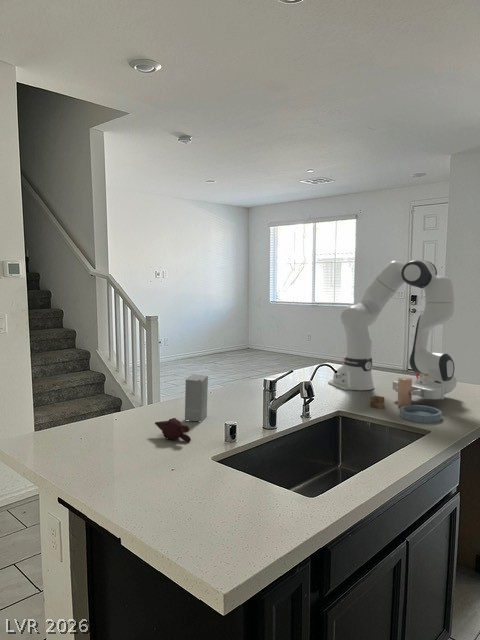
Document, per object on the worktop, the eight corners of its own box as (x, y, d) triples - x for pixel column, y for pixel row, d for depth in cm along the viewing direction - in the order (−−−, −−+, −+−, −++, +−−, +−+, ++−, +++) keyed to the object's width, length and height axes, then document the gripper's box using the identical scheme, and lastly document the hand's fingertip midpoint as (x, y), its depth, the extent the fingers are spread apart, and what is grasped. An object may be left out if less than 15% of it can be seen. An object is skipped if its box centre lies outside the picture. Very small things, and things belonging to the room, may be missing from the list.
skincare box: (191, 415, 178) (190, 373, 176) (209, 416, 176) (208, 374, 175) (183, 422, 170) (183, 378, 168) (202, 423, 168) (202, 379, 167)
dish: (392, 415, 176) (392, 408, 176) (417, 409, 183) (417, 403, 183) (424, 425, 164) (424, 418, 164) (449, 418, 171) (449, 411, 171)
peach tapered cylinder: (394, 405, 189) (395, 378, 188) (403, 403, 192) (404, 377, 191) (405, 408, 185) (406, 380, 184) (414, 406, 188) (414, 379, 187)
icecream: (145, 419, 152) (180, 431, 144) (161, 408, 158) (195, 419, 149) (148, 437, 154) (183, 450, 146) (164, 426, 160) (198, 438, 152)
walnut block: (370, 407, 187) (370, 397, 187) (374, 405, 190) (374, 395, 190) (380, 409, 185) (380, 399, 184) (384, 406, 188) (384, 397, 188)
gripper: (405, 375, 203) (383, 378, 196) (447, 384, 186) (425, 388, 179) (405, 389, 204) (382, 393, 197) (447, 399, 186) (424, 405, 179)
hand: (403, 391), depth 187 cm, fingers closed on peach tapered cylinder, 5 cm apart
